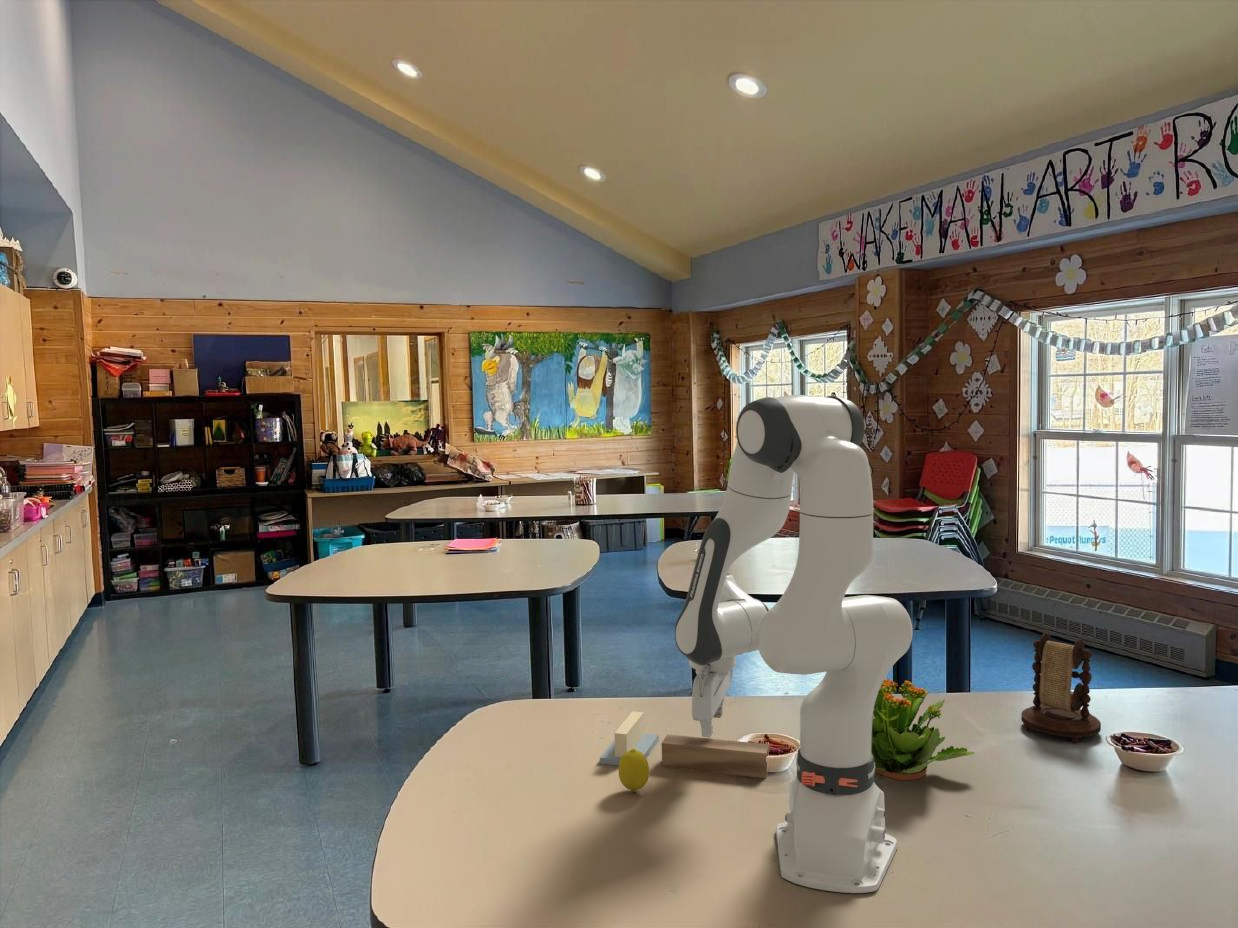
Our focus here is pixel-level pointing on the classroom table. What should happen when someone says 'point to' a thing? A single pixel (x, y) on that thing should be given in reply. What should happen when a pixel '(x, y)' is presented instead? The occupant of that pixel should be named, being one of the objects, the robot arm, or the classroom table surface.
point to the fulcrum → (629, 740)
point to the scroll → (1061, 691)
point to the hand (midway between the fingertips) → (712, 725)
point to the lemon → (633, 770)
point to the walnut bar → (715, 755)
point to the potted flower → (906, 733)
